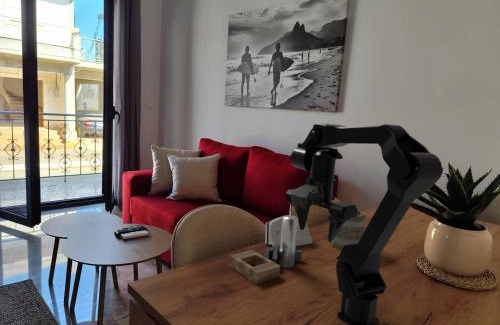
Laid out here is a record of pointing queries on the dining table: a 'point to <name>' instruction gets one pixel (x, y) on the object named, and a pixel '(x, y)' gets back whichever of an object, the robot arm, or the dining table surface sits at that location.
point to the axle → (288, 241)
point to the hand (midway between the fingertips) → (315, 235)
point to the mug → (350, 231)
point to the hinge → (275, 230)
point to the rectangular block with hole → (258, 273)
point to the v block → (274, 252)
